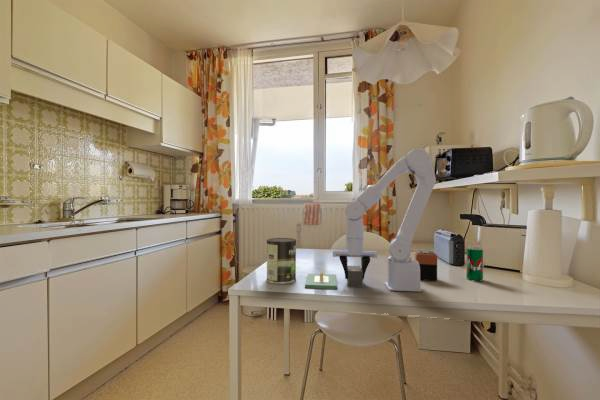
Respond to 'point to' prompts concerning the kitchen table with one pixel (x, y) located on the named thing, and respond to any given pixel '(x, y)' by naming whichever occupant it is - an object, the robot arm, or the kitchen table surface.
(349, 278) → the block
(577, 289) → the kitchen table surface
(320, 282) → the header board
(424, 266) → the battery
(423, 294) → the kitchen table surface
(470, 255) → the soda can
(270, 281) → the coffee can
